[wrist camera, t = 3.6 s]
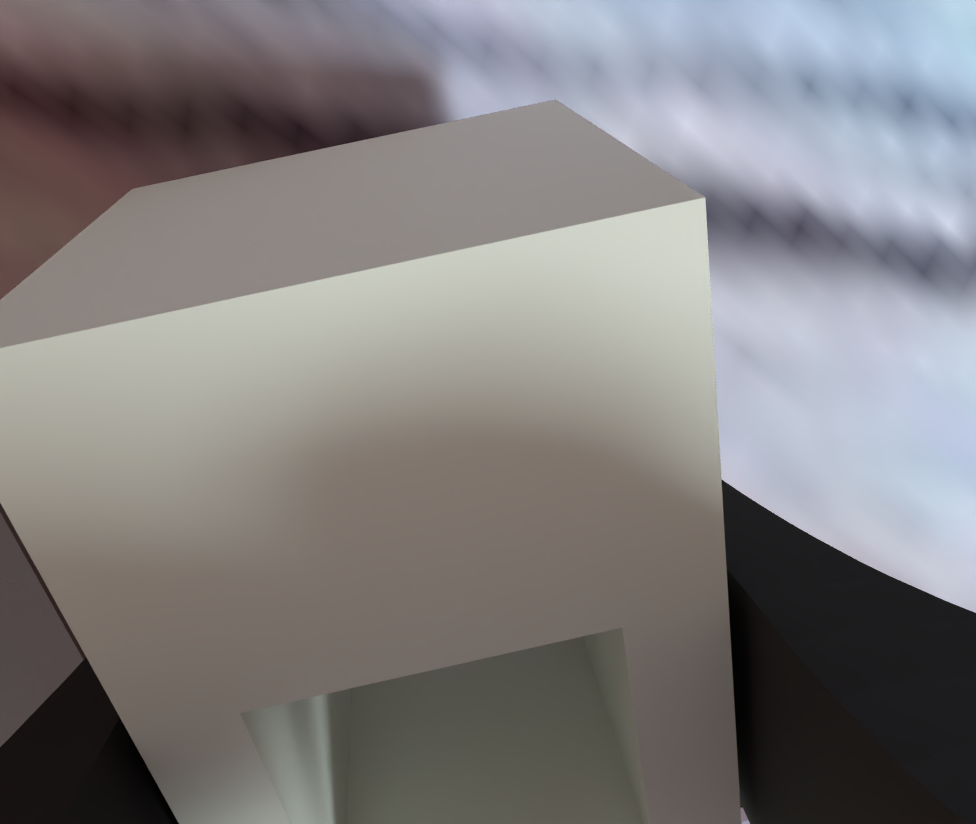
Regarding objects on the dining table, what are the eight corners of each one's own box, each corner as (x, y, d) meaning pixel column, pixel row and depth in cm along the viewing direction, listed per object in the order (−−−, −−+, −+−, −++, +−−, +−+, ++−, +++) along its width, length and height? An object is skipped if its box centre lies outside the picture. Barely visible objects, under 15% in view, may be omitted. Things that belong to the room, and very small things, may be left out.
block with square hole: (636, 703, 14) (752, 1021, 10) (353, 766, 14) (342, 1117, 10) (555, 98, 10) (705, 195, 5) (132, 188, 10) (-77, 363, 5)
